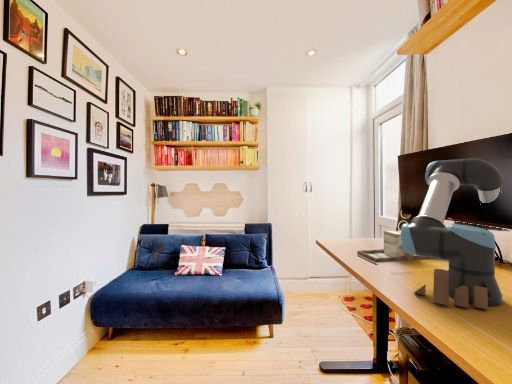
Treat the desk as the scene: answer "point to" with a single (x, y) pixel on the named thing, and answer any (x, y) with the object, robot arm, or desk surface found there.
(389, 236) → the birch block
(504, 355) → the desk surface
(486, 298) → the wooden block set
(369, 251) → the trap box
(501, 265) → the desk surface
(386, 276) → the desk surface
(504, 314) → the desk surface
